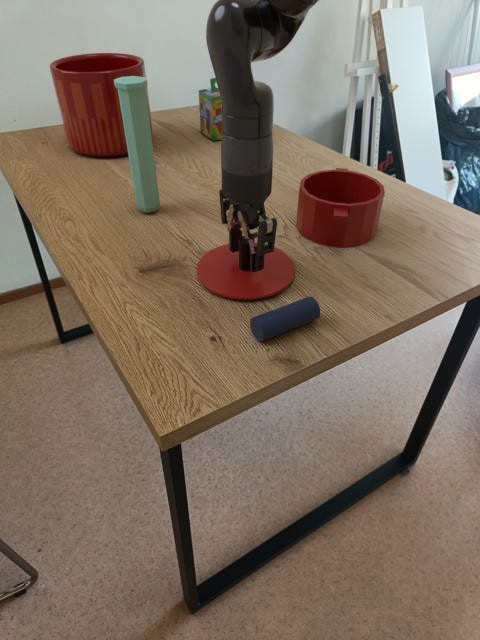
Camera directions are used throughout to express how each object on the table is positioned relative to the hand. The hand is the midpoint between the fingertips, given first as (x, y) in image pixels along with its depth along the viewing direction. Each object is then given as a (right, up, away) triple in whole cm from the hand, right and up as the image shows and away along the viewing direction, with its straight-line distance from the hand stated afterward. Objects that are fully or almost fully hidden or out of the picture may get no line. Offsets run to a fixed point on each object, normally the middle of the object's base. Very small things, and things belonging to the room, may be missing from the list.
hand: (245, 259), depth 76 cm
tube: (+6, -11, -9) cm, 15 cm away
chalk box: (-7, +44, +55) cm, 71 cm away
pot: (+18, +8, +14) cm, 24 cm away
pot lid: (0, -2, +1) cm, 2 cm away
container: (-20, +13, +19) cm, 31 cm away
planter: (-36, +39, +49) cm, 72 cm away
